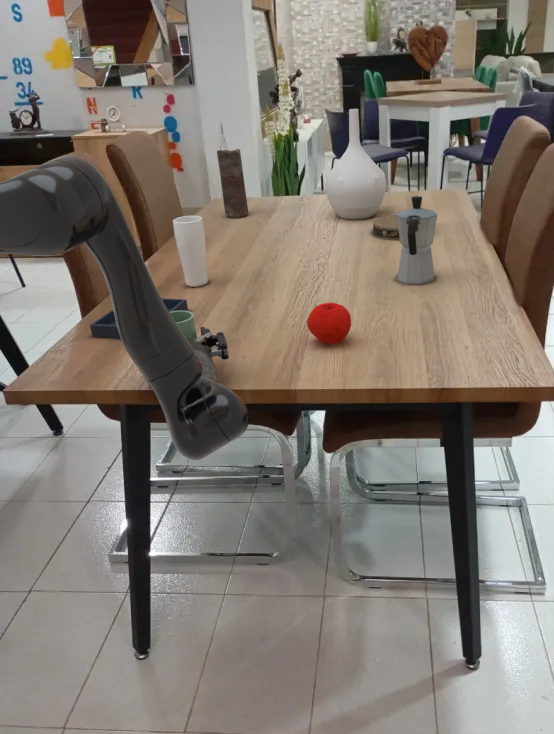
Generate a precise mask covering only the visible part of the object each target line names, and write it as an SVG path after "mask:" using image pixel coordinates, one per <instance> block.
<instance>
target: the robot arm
mask: <svg viewBox="0 0 554 734" xmlns="http://www.w3.org/2000/svg"><path fill="white" fill-rule="evenodd" d="M83 244H84V245H85V246H86V248H87V249H88V250H89V252H90V253H91V255H92V256H93V257H94V259H95V261H96V262H97V265H98V266H99V268H100V270H101V273H102V274H103V277H104V279H105V283H106V286H107V289H108V292H109V296H110V300H111V305H112V309H113V310H114V315H115V319H116V324H117V328H118V331H119V334H120V337H121V338H120V340H121V343H122V344H123V346H124V348H125V350H126V352H127V355H128V356H129V357H130V358H131V360H132V362H133V363H134V365H135V366H136V368H137V369H138V370H139V372H140V373H141V374H142V376H143V378H144V379H145V380H146V382H147V383H148V385H149V386H150V388H151V390H152V392H153V393H154V395H155V397H156V399H157V401H158V404H159V405H160V408H161V411H162V413H163V416H164V419H165V422H166V426H167V429H168V432H169V436H170V438H171V440H172V443H173V446H174V447H175V449H176V450H177V452H178V453H179V454H180V455H182V456H183V457H185V458H187V459H189V460H192V461H200V460H202V459H204V458H206V457H208V456H209V455H211V454H213V453H215V452H216V451H218V450H220V449H221V448H224V446H226V445H228V444H229V443H231V442H233V441H235V440H236V439H238V438H240V437H241V436H242V435H243V434H244V433H246V431H247V429H248V427H249V424H250V413H249V410H248V408H247V406H246V404H245V403H244V401H243V400H242V398H241V397H240V396H239V395H238V394H236V393H235V392H234V391H233V390H232V389H231V388H229V387H228V386H226V385H225V384H222V383H221V380H220V377H219V372H218V369H217V367H216V364H215V363H214V360H213V357H218V358H221V360H228V359H229V358H230V356H229V349H228V342H227V340H226V335H225V333H224V332H222V331H220V332H216V333H215V334H213V332H211V330H210V328H206V327H205V326H200V327H199V331H200V335H197V338H195V339H194V340H193V341H187V339H186V338H185V336H184V335H183V333H182V331H181V330H180V328H179V327H178V325H177V324H176V322H175V321H174V319H173V318H172V316H171V314H170V313H169V311H168V309H167V307H166V306H165V304H164V302H163V300H162V298H163V297H162V296H161V294H160V293H159V290H158V289H157V286H156V285H155V283H154V280H153V278H152V276H151V274H150V271H149V269H148V267H147V265H146V263H145V260H144V258H143V256H142V254H141V251H140V249H139V247H138V244H137V243H136V240H135V239H134V236H133V234H132V232H131V230H130V228H129V225H128V223H127V220H126V218H125V216H124V214H123V211H122V209H121V206H120V204H119V203H118V201H117V198H116V196H115V194H114V192H113V190H112V188H111V187H110V185H109V183H108V182H107V180H106V179H105V177H104V176H103V174H102V172H100V171H99V170H98V169H97V167H95V166H94V165H93V163H91V162H89V160H86V159H84V158H82V157H80V156H76V155H69V154H68V155H61V156H58V157H56V158H53V159H51V160H49V161H47V162H44V163H42V164H39V165H38V166H34V167H33V168H30V169H29V170H26V171H24V172H22V173H19V174H17V175H15V176H13V177H11V178H9V179H5V180H3V181H0V254H5V255H6V254H7V255H21V256H22V255H23V256H36V257H53V256H60V255H64V254H67V253H69V252H71V251H73V250H76V248H78V247H80V246H82V245H83Z"/></svg>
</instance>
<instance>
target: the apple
mask: <svg viewBox="0 0 554 734" xmlns="http://www.w3.org/2000/svg"><path fill="white" fill-rule="evenodd" d="M351 318H352V317H351V314H350V312H349V310H348V308H346V307H345V306H343V305H342V304H339V303H336V302H324V303H320V304H318V305H316V306H315V307H314V308H313V309H312V310H311V312H310V313H309V315H308V317H307V320H306V325H307V329H308V330H309V332H310V334H311V335H313V336H314V337H315V338H316V339H317V340H318V341H319V342H321V343H323V344H326V345H337V344H340V343H342V342H343V341H344V340H345V339H346V338H347V336H348V334H349V333H350V330H351V327H352V319H351Z"/></svg>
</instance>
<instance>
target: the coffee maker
mask: <svg viewBox="0 0 554 734" xmlns="http://www.w3.org/2000/svg"><path fill="white" fill-rule="evenodd" d="M410 199H411V204H412V207H410V208H408V209H405V210H402V211H399V212H397V213H396V215H397V221H398V229H399V237H400V240H399V243H400V244H401V245H402V249H401V251H400V258H399V265H398V272H397V276H396V277H397V278H396V281H397V282H400V283H402V284H405V285H420V286H421V285H425V284H428V283H429V284H430V283H433V282H434V280H435V268H434V261H433V252H432V248H431V245H432V244H433V243H434V238H435V231H436V224H437V220H438V219H437V218H438V213H437V212H435V211H434V210H433V209H428V208H423V207H422V201H423V197H422V196H421V195H420V196H419V195H416V196H411V198H410Z"/></svg>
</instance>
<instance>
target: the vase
mask: <svg viewBox="0 0 554 734" xmlns="http://www.w3.org/2000/svg"><path fill="white" fill-rule="evenodd" d="M348 134H349V135H348V138H349V142H348V146H347V147H346V150H345V152H343V154H342V156H341V157H340V158H339V159H338V161H337V163H336V164H335V165H334V166H333V167H332V169H331V170H330V171H329V172H328V173H327V175H326V178H325V182H324V183H325V184H324V187H325V194H326V197H327V200H328V203H329V205H330V207H331V208H332V210H333V211H334V212H335V213H336V214H337V215H338V216H339V217H340V218H341V219H345V220H354V221H355V220H364V219H368V218H371V217H372V216H374V215H375V214H376V212H378V210H380V209H379V208H380V207H381V205H382V203H383V201H384V197H385V195H386V192H387V179H386V174H385V172H384V171H383V170H382V169H381V167H379V165H378V164H377V163H375V161H374V160H373V159H372V158H371V157H370V155H368V153H367V152H366V150H365V149H364V148H363V146H362V145H361V140H360V116H359V108H350V109H348Z"/></svg>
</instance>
